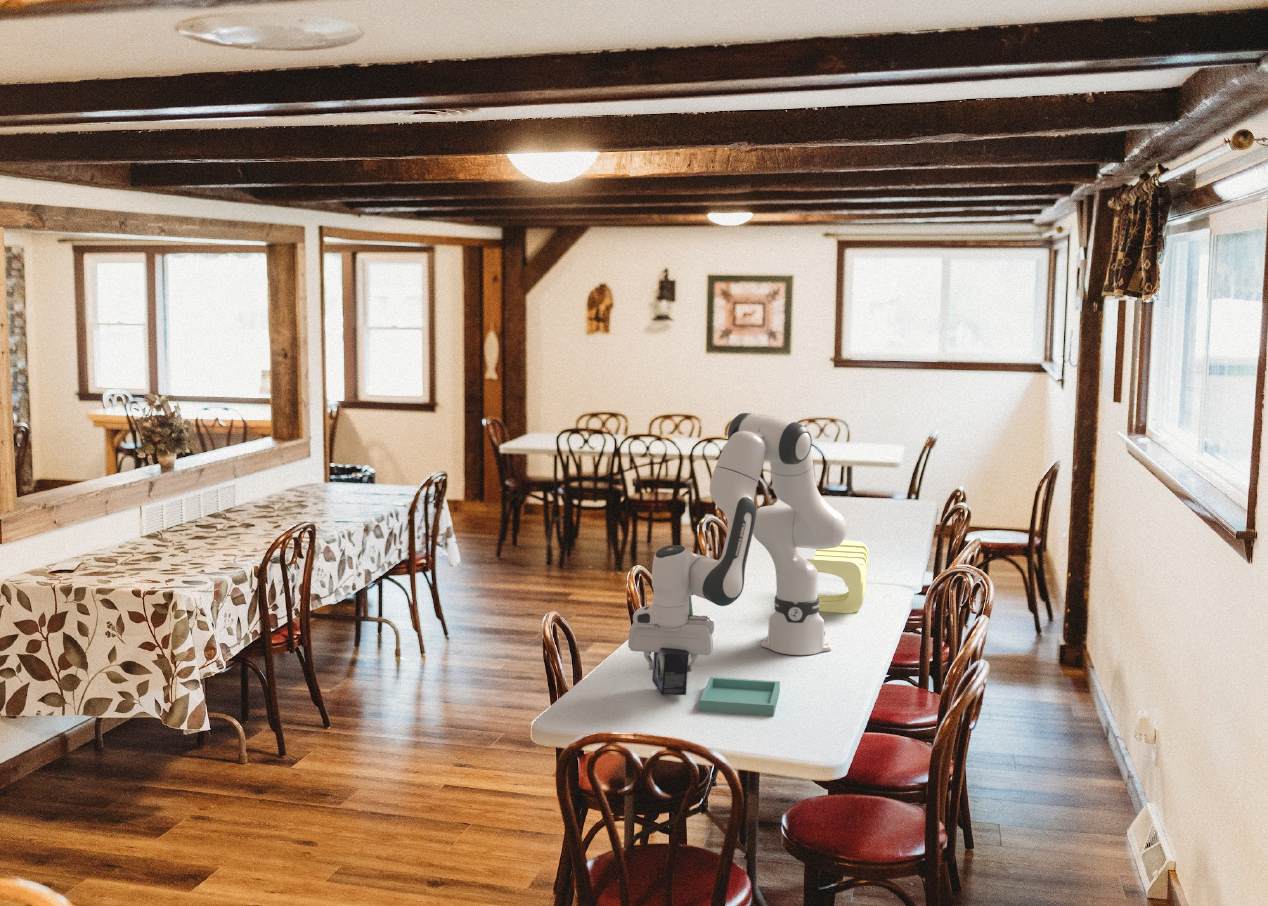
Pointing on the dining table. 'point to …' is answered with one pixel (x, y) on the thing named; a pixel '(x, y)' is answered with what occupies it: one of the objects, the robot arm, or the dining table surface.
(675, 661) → the small box
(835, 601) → the slatted curved stool
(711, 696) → the teal tray
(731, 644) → the dining table surface
